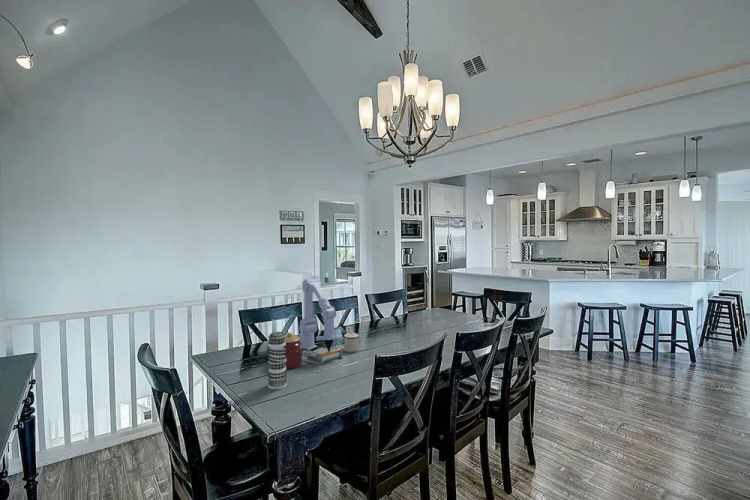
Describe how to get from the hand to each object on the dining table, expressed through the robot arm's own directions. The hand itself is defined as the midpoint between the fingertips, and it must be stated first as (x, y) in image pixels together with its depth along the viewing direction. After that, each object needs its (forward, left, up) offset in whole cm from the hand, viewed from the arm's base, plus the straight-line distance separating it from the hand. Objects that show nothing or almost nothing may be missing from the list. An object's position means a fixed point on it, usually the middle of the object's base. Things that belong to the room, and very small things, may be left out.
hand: (329, 352), depth 216 cm
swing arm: (+2, -1, -2) cm, 3 cm away
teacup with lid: (+1, +19, -4) cm, 19 cm away
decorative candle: (+1, -42, -4) cm, 42 cm away
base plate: (-4, +1, -3) cm, 6 cm away
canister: (-13, -18, -4) cm, 23 cm away
